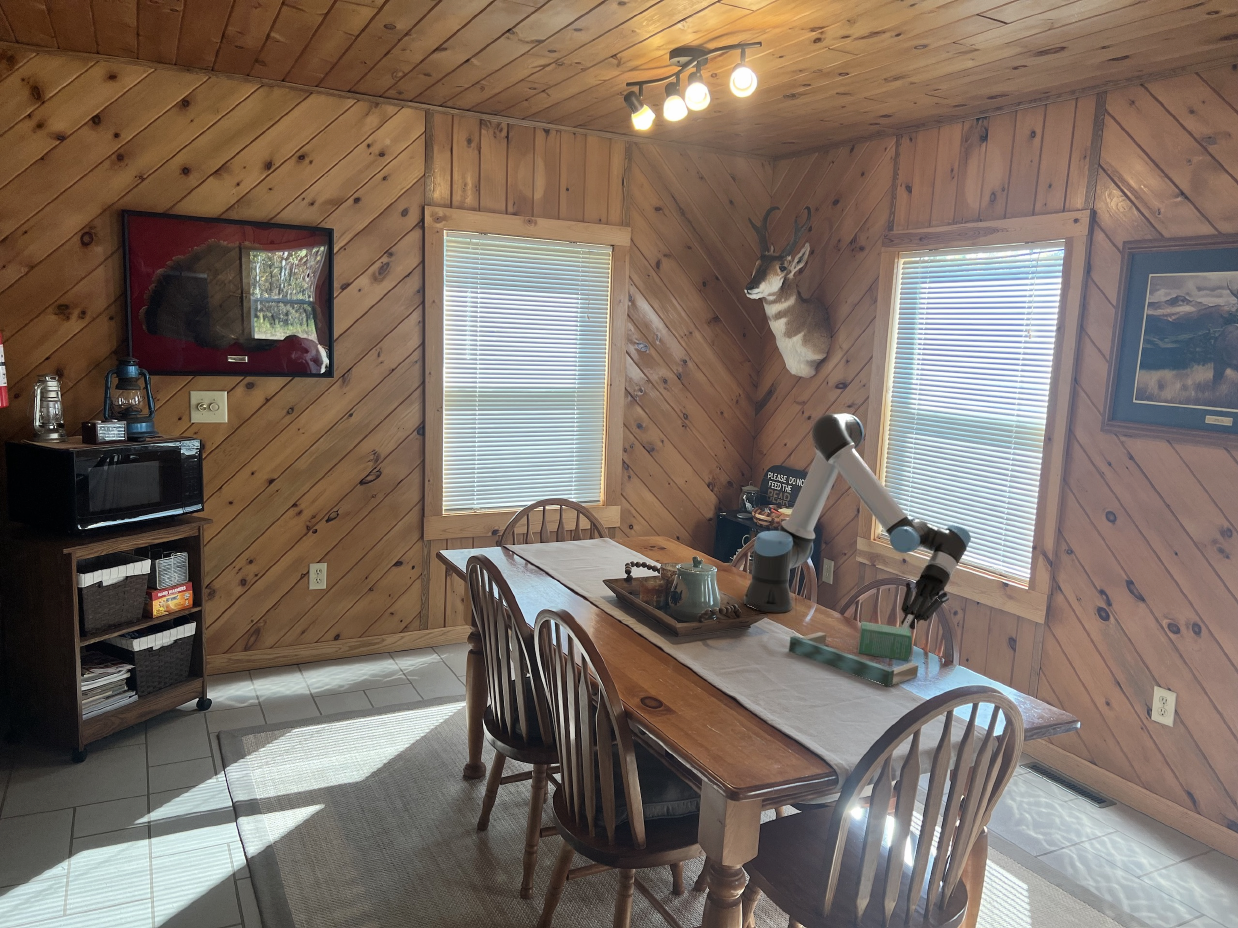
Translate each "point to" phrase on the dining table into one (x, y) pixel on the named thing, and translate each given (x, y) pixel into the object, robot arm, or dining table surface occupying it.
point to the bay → (849, 660)
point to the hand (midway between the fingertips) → (902, 635)
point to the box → (885, 641)
